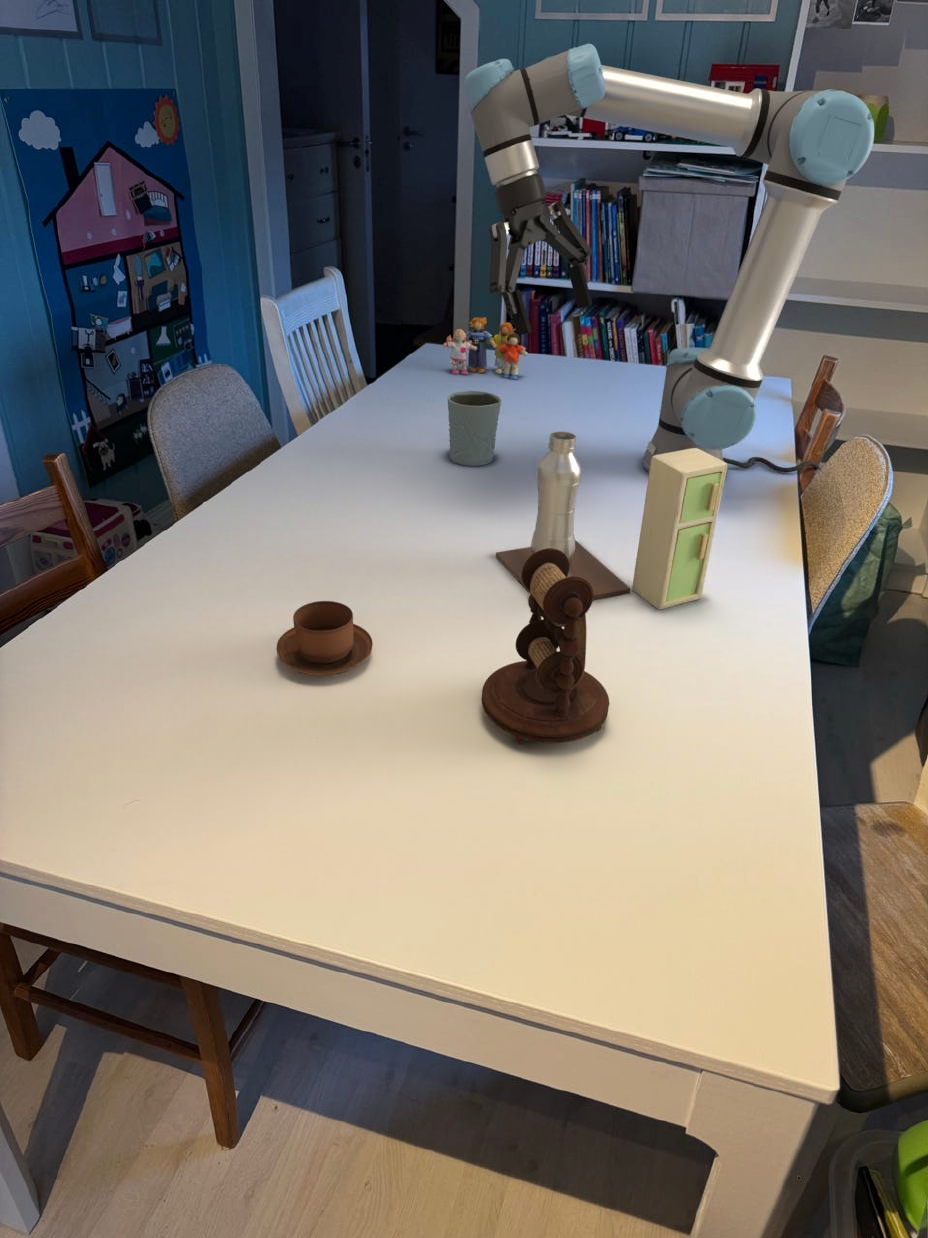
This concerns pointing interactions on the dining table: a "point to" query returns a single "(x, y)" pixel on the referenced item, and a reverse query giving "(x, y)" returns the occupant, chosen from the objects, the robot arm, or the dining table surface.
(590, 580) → the walnut board
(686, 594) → the toy refrigerator
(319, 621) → the cup and saucer
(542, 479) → the silver metal bottle
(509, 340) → the doll family
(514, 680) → the wooden spool stand
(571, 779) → the dining table surface
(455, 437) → the green embossed cup
